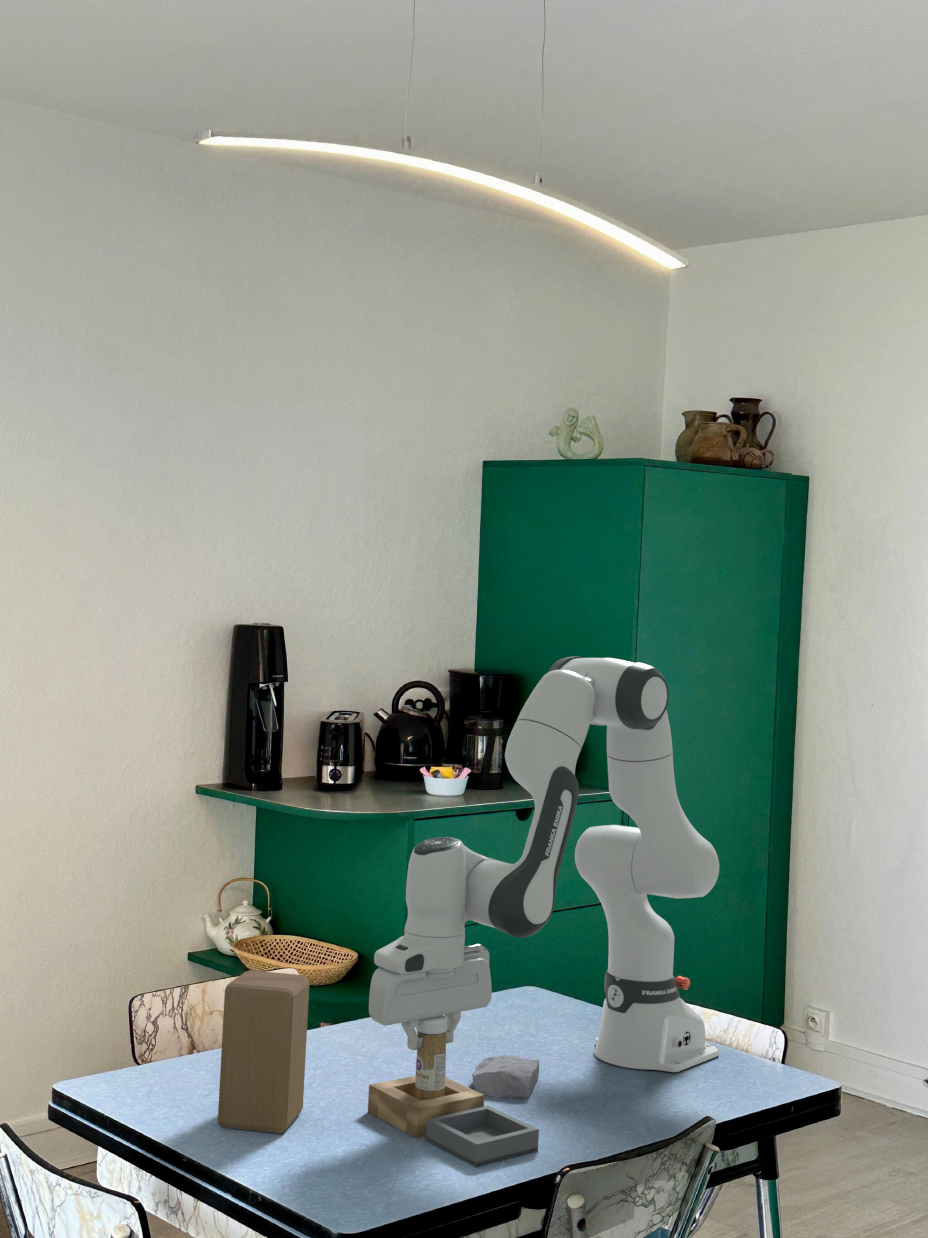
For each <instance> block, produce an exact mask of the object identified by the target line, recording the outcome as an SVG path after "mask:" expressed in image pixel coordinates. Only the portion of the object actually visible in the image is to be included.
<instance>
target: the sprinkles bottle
mask: <svg viewBox="0 0 928 1238" xmlns="http://www.w3.org/2000/svg"><path fill="white" fill-rule="evenodd" d="M447 1028H448V1019H447V1017H446V1016H445V1015H440V1016H435V1017H430V1018H424V1019H419V1020H418V1026H417V1027H415V1031H416V1033H417V1035H418V1036H421V1037H423V1042H422V1045H423V1047H422V1048H421V1049H417V1050H416V1058H415V1076H416V1080H415V1086H416V1092H415V1098H417V1099H419V1100H421V1101H424V1100H428V1099H433V1098H438V1097H443V1096H444V1091H445V1077H446V1073H447V1072H446V1071H447V1069H446V1068H447V1067H446V1066H447V1064H446V1063H447V1044H446V1033H447V1032H446V1031H447Z"/></svg>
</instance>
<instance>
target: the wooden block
mask: <svg viewBox="0 0 928 1238" xmlns="http://www.w3.org/2000/svg"><path fill="white" fill-rule="evenodd" d="M224 988H225V989H224V997H223V998H224V1000H223V1018H222V1036H221V1053H220V1055H221V1056H220V1068H219V1069H220V1072H219V1087H218V1088H219V1089H218V1090H219V1092H218V1105H217V1106H218V1109H217V1110H218V1111H217V1122H218V1125H219V1127H220V1126H221V1127H223V1128H228V1127H229V1129H237V1128H238V1129H239V1130H246V1129H247V1131H255V1130H256V1132H264V1131H265V1132H266V1133H274V1134H275V1133H276V1134H282V1133H284V1132H286V1130H287V1129H288V1128H289V1127H290V1126H291V1125H292V1123H293V1122H294V1121H295V1120H296V1118H298V1116H299V1115H300V1114H301V1112H302V1111H303V1108H304V1107H303V1106H304V1091H305V1074H306V1073H305V1071H306V1053H307V1038H308V1037H307V1034H308V1018H309V1017H308V1015H309V999H310V997H309V996H310V995H309V994H310V980H309V977H308V976H306V975H304V974H295V973H287V972H286V973H285V972H284V973H283V972H276V971H275V972H273V971H263V970H262V971H261V970H252V969H250V970H247V971H244V972H243V973H242V974H241V975H239V976H237V977H236V978H235V979H233V980H231V982H229V983H227V984H226V986H225V987H224ZM265 1132H264V1133H265Z"/></svg>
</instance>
